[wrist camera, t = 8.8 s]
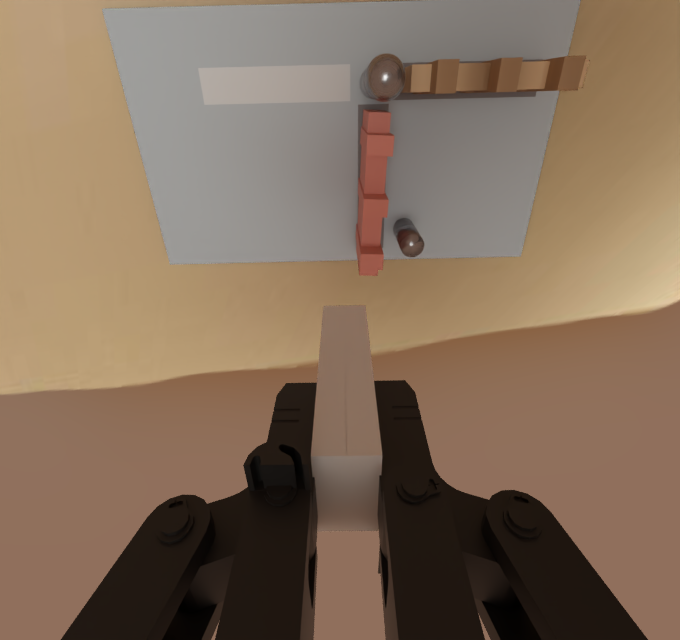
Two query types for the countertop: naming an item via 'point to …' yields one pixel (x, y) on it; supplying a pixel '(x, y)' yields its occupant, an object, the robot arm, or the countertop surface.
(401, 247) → the peg
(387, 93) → the post
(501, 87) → the fence fixed
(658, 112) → the countertop surface
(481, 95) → the card
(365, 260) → the fence panel
